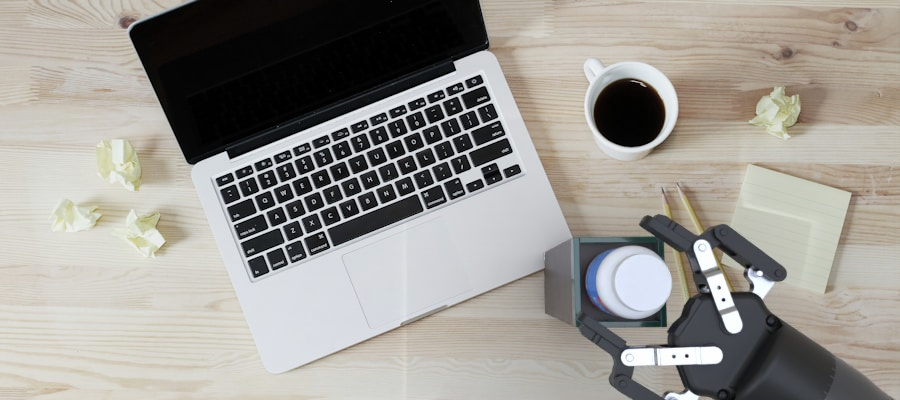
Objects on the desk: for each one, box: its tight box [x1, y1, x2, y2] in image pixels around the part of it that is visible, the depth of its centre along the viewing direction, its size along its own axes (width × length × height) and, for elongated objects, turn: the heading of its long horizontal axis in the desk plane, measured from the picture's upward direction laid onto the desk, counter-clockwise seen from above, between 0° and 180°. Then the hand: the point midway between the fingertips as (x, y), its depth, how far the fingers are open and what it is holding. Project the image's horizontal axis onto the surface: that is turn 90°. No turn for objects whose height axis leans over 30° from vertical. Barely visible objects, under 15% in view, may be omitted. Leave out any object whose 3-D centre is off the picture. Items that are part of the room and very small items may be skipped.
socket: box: [570, 235, 668, 329], centre depth 60 cm, size 7×7×2 cm
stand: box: [543, 238, 655, 327], centre depth 74 cm, size 7×7×27 cm
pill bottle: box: [584, 246, 673, 319], centre depth 56 cm, size 6×5×10 cm
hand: (610, 267), depth 54 cm, fingers open, 8 cm apart
